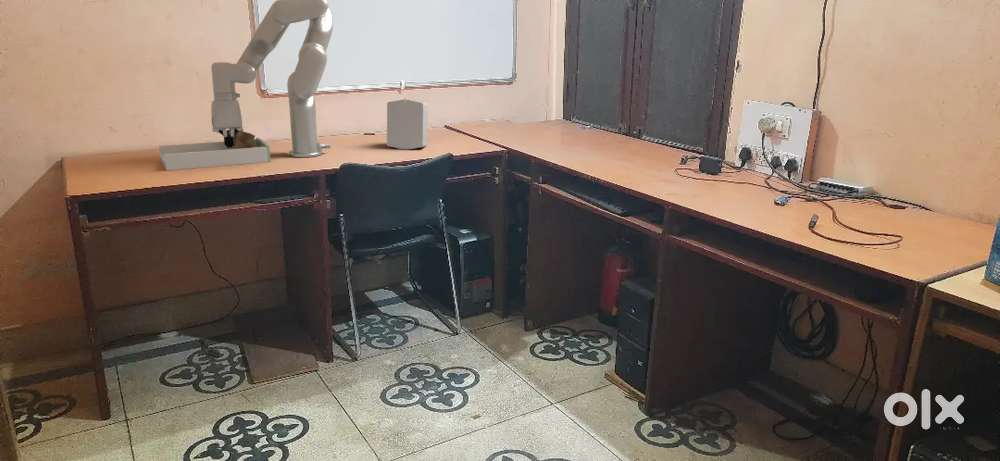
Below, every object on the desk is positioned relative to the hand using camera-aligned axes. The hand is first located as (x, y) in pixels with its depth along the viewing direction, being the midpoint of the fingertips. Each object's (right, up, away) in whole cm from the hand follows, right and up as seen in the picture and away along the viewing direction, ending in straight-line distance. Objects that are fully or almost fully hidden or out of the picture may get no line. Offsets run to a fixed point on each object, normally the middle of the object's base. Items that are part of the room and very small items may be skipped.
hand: (229, 146), depth 267 cm
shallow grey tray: (-4, -6, -5) cm, 8 cm away
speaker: (-3, 0, +16) cm, 16 cm away
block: (+3, 0, +3) cm, 4 cm away
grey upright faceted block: (+63, +4, +31) cm, 70 cm away
